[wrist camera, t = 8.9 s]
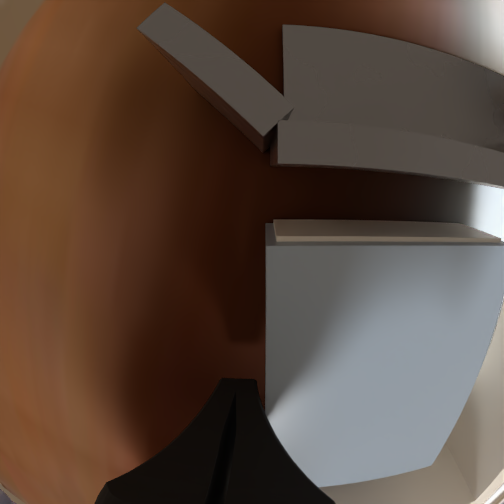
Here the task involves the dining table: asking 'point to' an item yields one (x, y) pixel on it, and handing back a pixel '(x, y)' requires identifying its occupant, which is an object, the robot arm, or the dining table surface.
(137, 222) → the dining table surface
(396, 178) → the dining table surface
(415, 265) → the white block
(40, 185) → the dining table surface
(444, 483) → the shallow white tray
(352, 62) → the grey long angular piece
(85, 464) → the dining table surface
